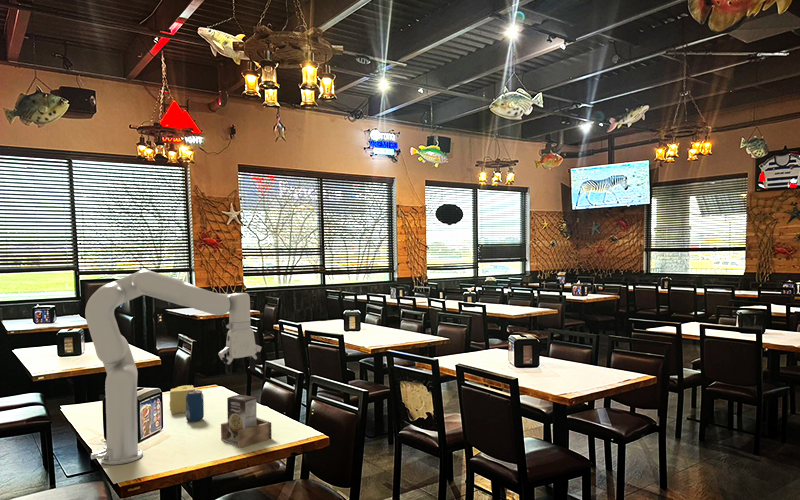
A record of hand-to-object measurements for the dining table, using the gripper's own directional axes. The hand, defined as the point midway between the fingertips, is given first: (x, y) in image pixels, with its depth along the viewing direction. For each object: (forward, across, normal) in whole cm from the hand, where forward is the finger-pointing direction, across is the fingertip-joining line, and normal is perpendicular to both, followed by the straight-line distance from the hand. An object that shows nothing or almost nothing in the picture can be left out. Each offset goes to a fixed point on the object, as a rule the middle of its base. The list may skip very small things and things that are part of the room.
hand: (241, 372), depth 203 cm
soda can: (+26, 0, +38) cm, 46 cm away
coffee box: (+26, 0, 0) cm, 26 cm away
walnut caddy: (+25, +2, 0) cm, 25 cm away
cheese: (+26, +4, +58) cm, 64 cm away
